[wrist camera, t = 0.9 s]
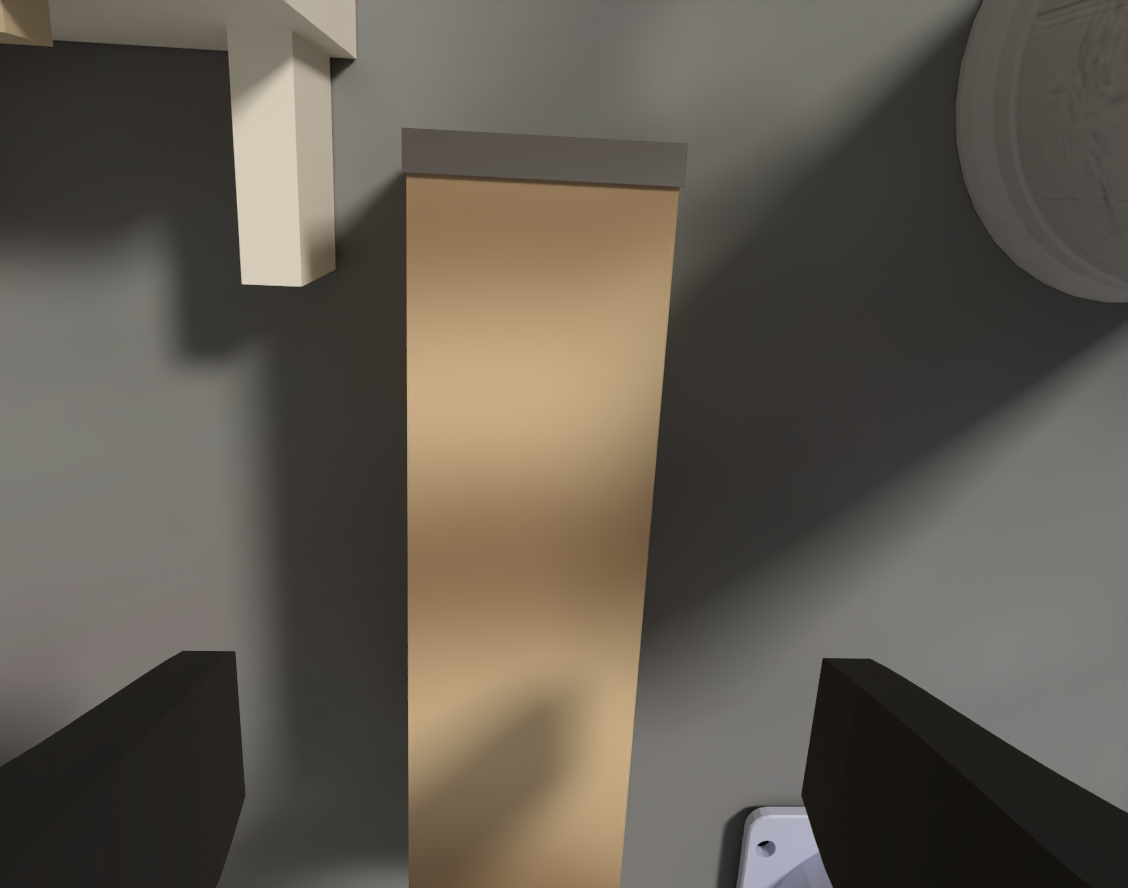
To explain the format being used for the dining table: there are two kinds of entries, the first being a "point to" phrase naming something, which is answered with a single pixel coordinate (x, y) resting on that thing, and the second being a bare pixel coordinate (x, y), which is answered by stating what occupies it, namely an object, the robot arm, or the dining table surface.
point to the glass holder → (1050, 138)
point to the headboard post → (241, 104)
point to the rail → (529, 493)
